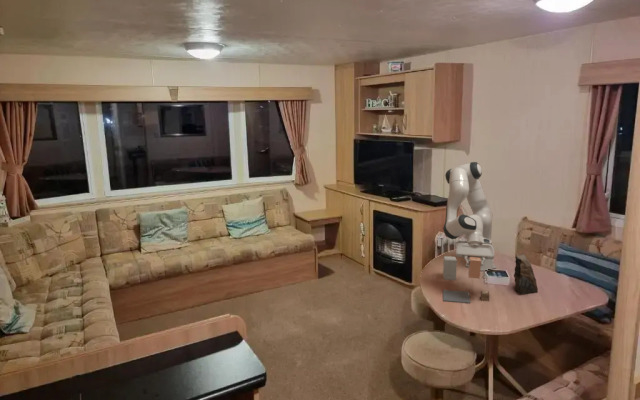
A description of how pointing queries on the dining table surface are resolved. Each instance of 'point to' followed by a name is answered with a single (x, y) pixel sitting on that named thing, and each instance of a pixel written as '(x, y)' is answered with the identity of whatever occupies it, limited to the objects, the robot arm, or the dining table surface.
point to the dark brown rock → (524, 276)
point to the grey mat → (456, 296)
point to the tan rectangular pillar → (474, 267)
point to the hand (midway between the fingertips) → (474, 264)
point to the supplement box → (449, 268)
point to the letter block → (484, 295)
